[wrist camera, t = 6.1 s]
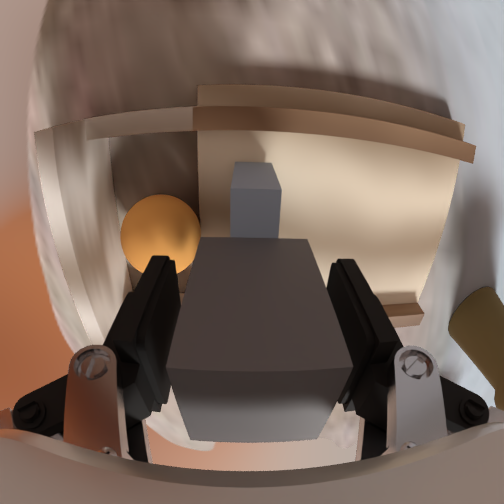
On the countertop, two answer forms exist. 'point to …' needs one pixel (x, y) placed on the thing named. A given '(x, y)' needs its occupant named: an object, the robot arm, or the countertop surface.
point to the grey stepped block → (256, 328)
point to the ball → (160, 232)
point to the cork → (482, 336)
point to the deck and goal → (289, 176)
